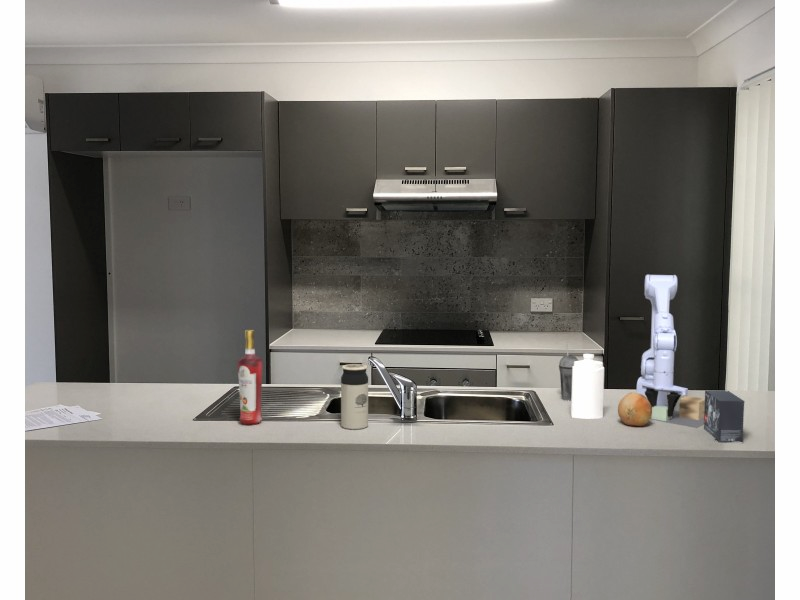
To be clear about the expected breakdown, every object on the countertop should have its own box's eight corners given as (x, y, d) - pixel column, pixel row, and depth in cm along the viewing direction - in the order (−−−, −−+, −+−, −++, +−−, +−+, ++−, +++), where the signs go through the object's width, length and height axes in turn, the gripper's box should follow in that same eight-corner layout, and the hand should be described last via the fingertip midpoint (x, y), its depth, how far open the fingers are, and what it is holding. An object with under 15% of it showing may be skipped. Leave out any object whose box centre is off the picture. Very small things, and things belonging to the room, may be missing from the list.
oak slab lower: (678, 416, 223) (679, 407, 223) (686, 413, 227) (686, 404, 227) (698, 420, 219) (698, 411, 219) (705, 416, 223) (705, 407, 223)
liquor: (233, 424, 212) (232, 331, 209) (247, 419, 218) (246, 328, 216) (254, 427, 209) (253, 332, 206) (268, 421, 216) (267, 329, 213)
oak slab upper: (679, 407, 223) (679, 399, 222) (686, 404, 227) (687, 396, 227) (698, 411, 219) (699, 402, 218) (705, 407, 223) (706, 399, 223)
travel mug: (337, 424, 213) (337, 364, 211) (362, 421, 216) (362, 363, 214) (346, 431, 206) (346, 369, 204) (372, 428, 209) (372, 367, 207)
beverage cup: (581, 401, 244) (583, 344, 242) (560, 401, 244) (561, 343, 242) (576, 397, 251) (578, 340, 250) (555, 396, 251) (557, 340, 250)
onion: (616, 428, 210) (617, 395, 209) (618, 420, 219) (619, 388, 218) (651, 432, 207) (652, 398, 206) (651, 423, 216) (652, 391, 215)
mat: (647, 420, 220) (647, 418, 220) (669, 410, 233) (669, 409, 232) (696, 429, 210) (697, 427, 210) (717, 418, 222) (717, 417, 222)
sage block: (651, 418, 220) (652, 407, 220) (657, 415, 224) (658, 405, 223) (666, 421, 217) (666, 409, 217) (671, 418, 221) (672, 407, 220)
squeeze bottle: (569, 415, 225) (572, 419, 220) (571, 352, 223) (574, 355, 218) (600, 416, 225) (604, 420, 220) (602, 353, 223) (606, 356, 218)
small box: (702, 429, 210) (704, 389, 209) (726, 430, 209) (728, 390, 208) (717, 442, 197) (719, 399, 195) (743, 443, 196) (745, 400, 195)
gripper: (635, 369, 221) (633, 412, 222) (682, 376, 211) (680, 421, 213) (644, 367, 226) (643, 409, 228) (691, 373, 217) (689, 416, 218)
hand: (661, 414), depth 220 cm, fingers closed on sage block, 4 cm apart
